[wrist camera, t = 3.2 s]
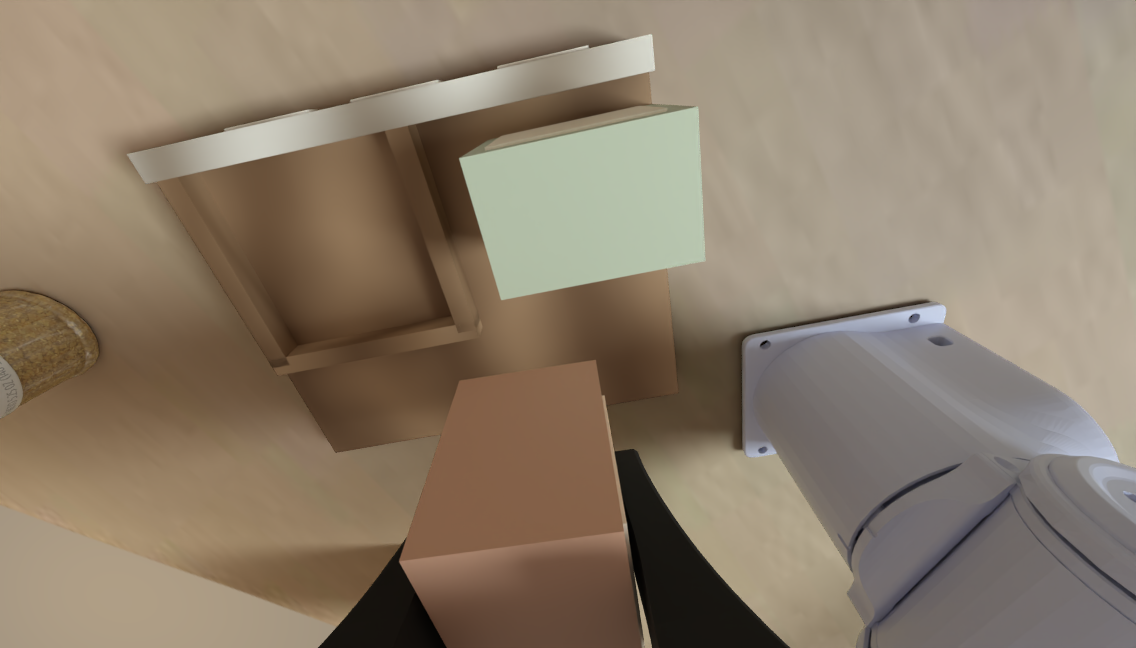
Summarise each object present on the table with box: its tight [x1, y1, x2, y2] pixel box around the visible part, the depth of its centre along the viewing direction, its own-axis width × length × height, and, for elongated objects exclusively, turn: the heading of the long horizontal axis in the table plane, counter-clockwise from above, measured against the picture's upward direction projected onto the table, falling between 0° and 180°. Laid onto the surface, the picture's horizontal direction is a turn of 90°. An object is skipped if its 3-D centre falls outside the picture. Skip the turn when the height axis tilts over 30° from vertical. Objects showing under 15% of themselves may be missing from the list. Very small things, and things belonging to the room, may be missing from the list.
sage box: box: [459, 104, 705, 300], centre depth 14 cm, size 6×4×6 cm
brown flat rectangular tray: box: [127, 34, 679, 453], centre depth 18 cm, size 18×15×2 cm
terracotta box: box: [399, 360, 645, 648], centre depth 11 cm, size 6×4×6 cm
